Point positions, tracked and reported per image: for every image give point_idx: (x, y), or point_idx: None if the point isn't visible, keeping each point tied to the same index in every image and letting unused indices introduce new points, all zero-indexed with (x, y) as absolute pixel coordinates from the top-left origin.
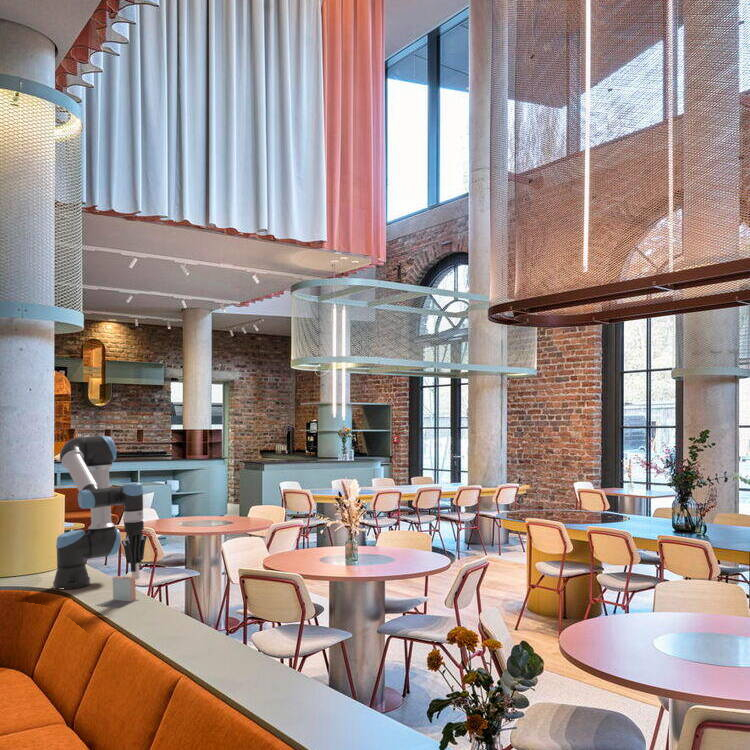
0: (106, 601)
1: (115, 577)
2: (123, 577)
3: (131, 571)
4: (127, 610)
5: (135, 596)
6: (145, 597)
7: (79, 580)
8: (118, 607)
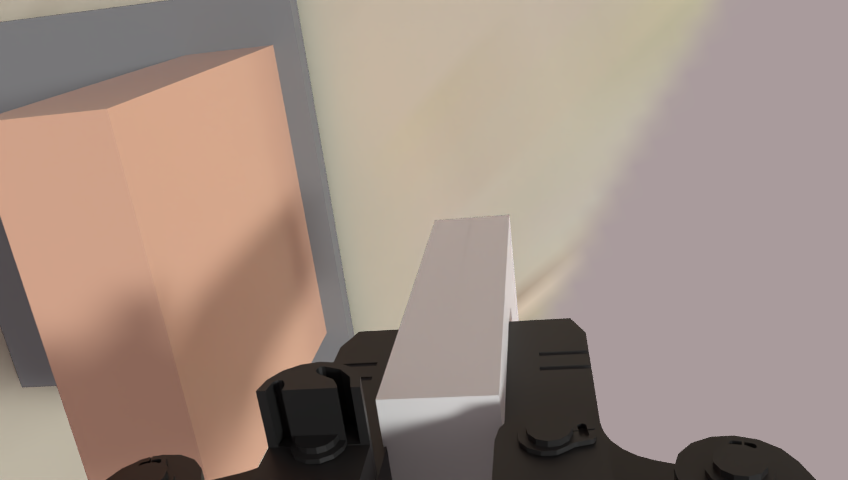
0: (95, 18)
1: (6, 187)
2: (98, 348)
3: (356, 343)
4: (69, 458)
5: (313, 354)
6: (551, 280)
7: None
8: (20, 371)
